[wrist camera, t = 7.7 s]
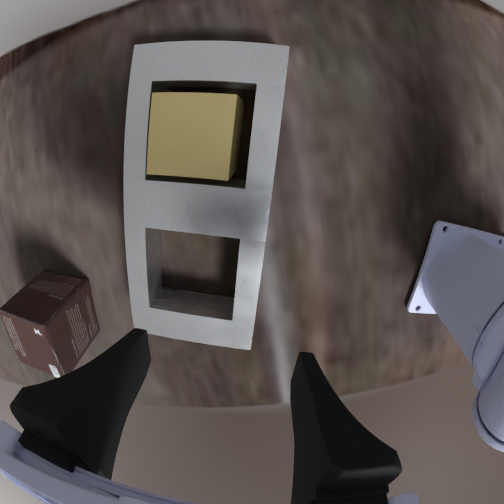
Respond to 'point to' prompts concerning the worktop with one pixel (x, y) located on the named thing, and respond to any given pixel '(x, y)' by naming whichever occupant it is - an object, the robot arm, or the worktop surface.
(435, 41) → the worktop surface
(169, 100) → the pale yellow wooden cube
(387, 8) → the worktop surface
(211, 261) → the worktop surface
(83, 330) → the box
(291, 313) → the worktop surface
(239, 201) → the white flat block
